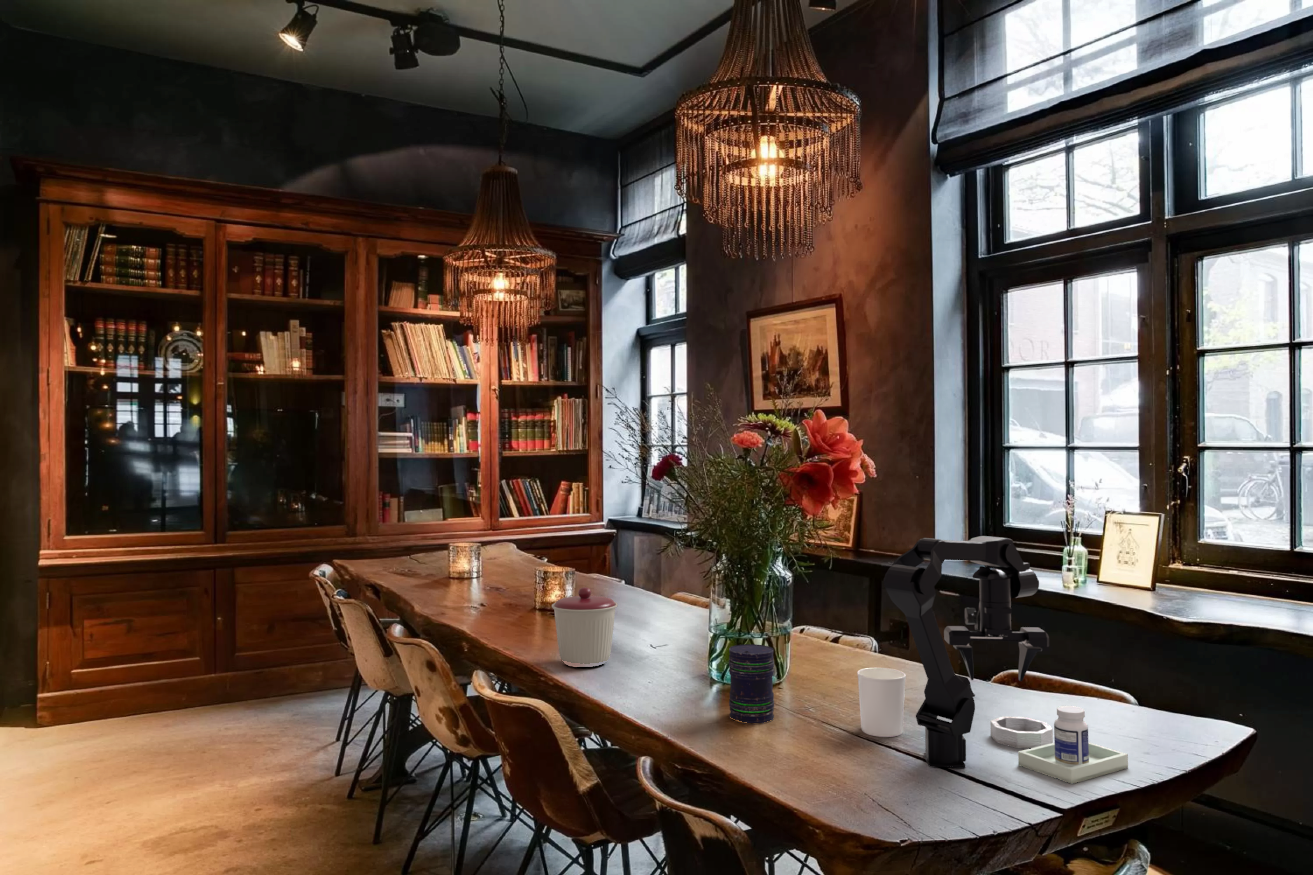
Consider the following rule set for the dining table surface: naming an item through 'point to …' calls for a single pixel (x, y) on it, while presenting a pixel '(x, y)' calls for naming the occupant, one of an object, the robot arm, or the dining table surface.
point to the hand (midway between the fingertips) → (996, 680)
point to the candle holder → (881, 701)
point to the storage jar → (751, 683)
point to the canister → (584, 627)
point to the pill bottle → (1071, 737)
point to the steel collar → (1021, 732)
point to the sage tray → (1098, 765)
